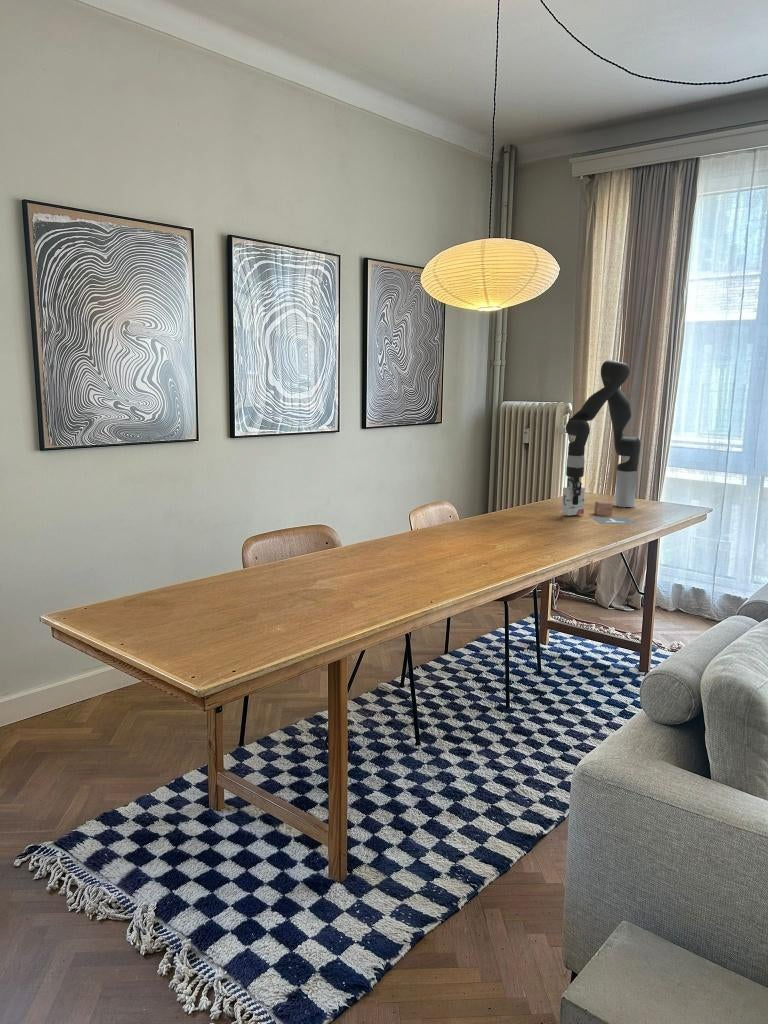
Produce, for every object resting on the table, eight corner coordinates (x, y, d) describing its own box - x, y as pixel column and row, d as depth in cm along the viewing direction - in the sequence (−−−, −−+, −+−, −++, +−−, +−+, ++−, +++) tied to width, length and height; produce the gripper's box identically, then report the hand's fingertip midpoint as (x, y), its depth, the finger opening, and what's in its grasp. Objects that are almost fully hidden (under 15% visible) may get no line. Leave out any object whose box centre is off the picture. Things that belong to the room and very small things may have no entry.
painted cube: (594, 514, 348) (595, 500, 347) (607, 514, 348) (608, 501, 347) (598, 516, 342) (599, 503, 341) (611, 516, 342) (612, 503, 341)
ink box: (576, 512, 345) (578, 485, 342) (583, 514, 340) (585, 487, 338) (560, 513, 341) (562, 486, 339) (567, 515, 337) (569, 488, 334)
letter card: (589, 517, 339) (589, 516, 339) (625, 517, 340) (625, 517, 339) (600, 524, 323) (600, 523, 323) (638, 525, 324) (638, 524, 324)
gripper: (562, 463, 344) (560, 500, 347) (571, 467, 329) (569, 506, 333) (579, 463, 344) (577, 500, 347) (588, 467, 330) (586, 506, 333)
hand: (573, 503), depth 340 cm, fingers closed on ink box, 6 cm apart
